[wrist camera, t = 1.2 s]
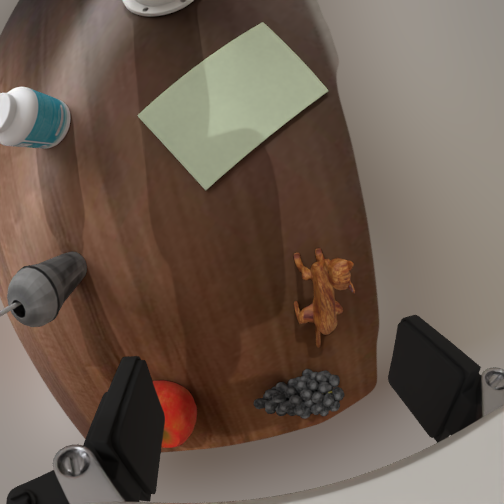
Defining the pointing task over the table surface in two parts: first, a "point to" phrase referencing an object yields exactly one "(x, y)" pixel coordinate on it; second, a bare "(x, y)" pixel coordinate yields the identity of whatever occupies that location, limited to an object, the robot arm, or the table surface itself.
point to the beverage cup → (44, 288)
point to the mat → (231, 103)
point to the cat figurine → (324, 291)
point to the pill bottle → (32, 119)
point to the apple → (176, 412)
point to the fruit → (303, 395)
